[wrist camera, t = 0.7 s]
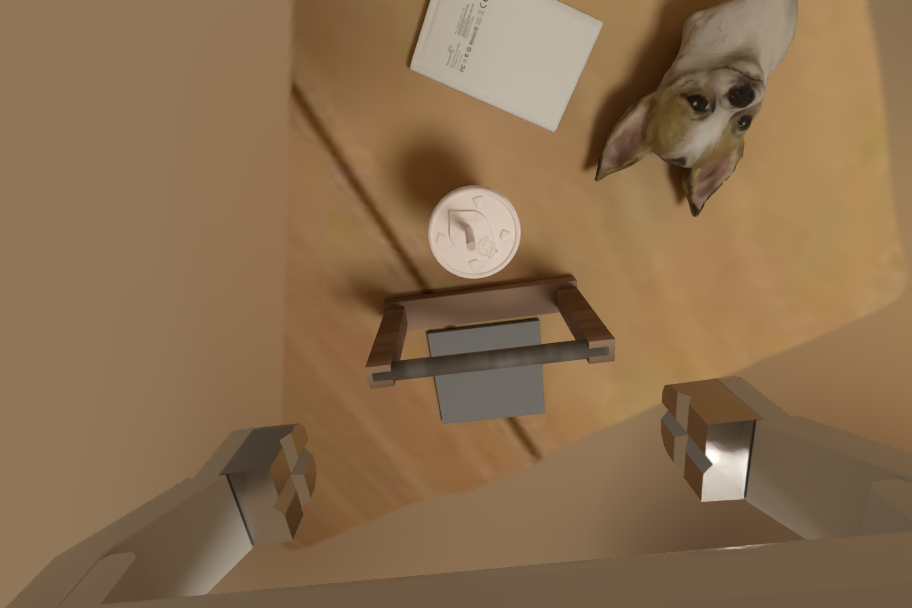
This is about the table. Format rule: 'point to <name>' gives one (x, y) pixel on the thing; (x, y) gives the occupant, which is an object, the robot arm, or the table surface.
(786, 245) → the table surface
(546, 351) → the bar hurdle
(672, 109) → the ceramic sculpture
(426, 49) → the external hard drive
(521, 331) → the mat
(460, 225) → the smoothie
